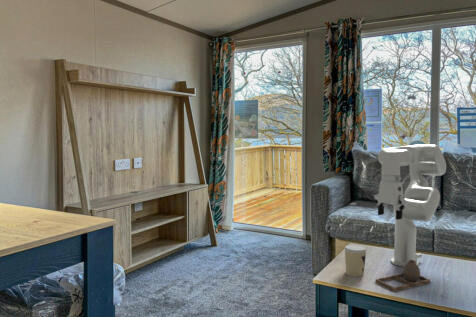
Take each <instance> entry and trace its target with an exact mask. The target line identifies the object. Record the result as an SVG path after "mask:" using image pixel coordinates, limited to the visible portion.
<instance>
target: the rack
mask: <svg viewBox="0 0 476 317" xmlns="http://www.w3.org/2000/svg"><path fill="white" fill-rule="evenodd" d="M391 280H395V281H398V282H399V283H401V284H402V285H397V286H393V285H390V284H389V283H387V281H391ZM375 283H376V284H378V285H380V286H382V287H384V288H386V289H388V290H390V291H393V292H398V291H402V290H406V289H411V288H415V287H419V286H423V285H427V284H431V279H430V278H428V277H425V276H423V275H420V278H419V280H418V281H417V282H409V281H406V280H405V278H404V276H403V272H401V273H395V274H393V275H389V276H381V277H376V278H375Z"/></svg>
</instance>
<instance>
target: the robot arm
mask: <svg viewBox="0 0 476 317" xmlns="http://www.w3.org/2000/svg"><path fill="white" fill-rule="evenodd" d="M377 160H378V162H379V163H380V164H381V180H380V183H379V187H378V192H377V194H375V195H374V194H373V198H374V200H375V201H374V202H375V203H376V206H377V215H378V216H383V215H384V214H385V206H384V204H386V205H391V206H393V214H394V246H393V247H394V250H393V253H394V254H393V257H391V258H390V263H391V264H393V265H395V266H398V267H403V268H404V266H405V265H406V264H407V263H408V261H409V260H414V261H415V263H416V264H417V266H418V267H419V265H420V262H419V261H418V260H417V259H420V258H422V256H423V255H422V253H416V252H417V251H416V250H417V227H416V224H415V223H414V221H419V222H429V221H431V220H432V218H433V216H434V215H435V212H436V210H437V208H438V206H439V204H440V199H441V194H440V191H439V190H438V189H437V188H436V187H432V186H429V181H428V180H427V178H426V177H424V176H437V177H439V176H443V175H445V173H446V171H447V162H446V159H445V157H444V154H443V151H442V149H441V148H440V146H438V145H437V144H422V143H421V144H420V143H419V144H412V145H405V146H403V145H402V146H394V147H392V146H391V147H385V148H382V149H381V150H380V151H379V152H378V155H377ZM406 166H409V177H410V182H409V184H408V186H407V188H406V189H405V191H404V189H403V184H402V182H401V181H402V177H401V167H406ZM423 175H424V176H423Z"/></svg>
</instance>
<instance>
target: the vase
mask: <svg viewBox="0 0 476 317" xmlns="http://www.w3.org/2000/svg"><path fill="white" fill-rule="evenodd" d="M402 273H403V276H404V277H403V279H404V280H406V281H409V282H411V283H414V282H419V281H420V279H419V278H420V276H421V270H420V267H419V265H418V266H417V264H416V263H415V261H414V260H409V261H408V263H407V264H406V265H405V266H404V267H403V268H402Z"/></svg>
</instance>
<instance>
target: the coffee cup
mask: <svg viewBox="0 0 476 317" xmlns="http://www.w3.org/2000/svg"><path fill="white" fill-rule="evenodd" d="M366 253H367V249H366V247H365V246H364V245H360V244H347V245H345V246H344V259H345V260H344V261H345V274H346V275H348V276H350V277H363V276H364V274H365V265H366V257H367V255H366Z"/></svg>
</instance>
